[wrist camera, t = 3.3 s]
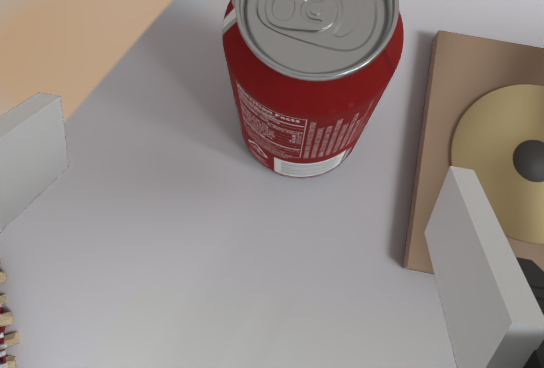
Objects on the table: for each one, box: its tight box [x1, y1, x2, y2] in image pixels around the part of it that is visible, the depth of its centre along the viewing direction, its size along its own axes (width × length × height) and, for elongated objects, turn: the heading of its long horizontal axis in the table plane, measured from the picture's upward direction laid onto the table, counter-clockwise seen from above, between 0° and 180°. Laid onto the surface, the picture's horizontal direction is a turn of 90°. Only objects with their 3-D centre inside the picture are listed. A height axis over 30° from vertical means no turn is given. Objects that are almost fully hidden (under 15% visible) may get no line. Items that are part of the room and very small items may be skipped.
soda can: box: [223, 0, 403, 178], centre depth 21 cm, size 7×7×12 cm
